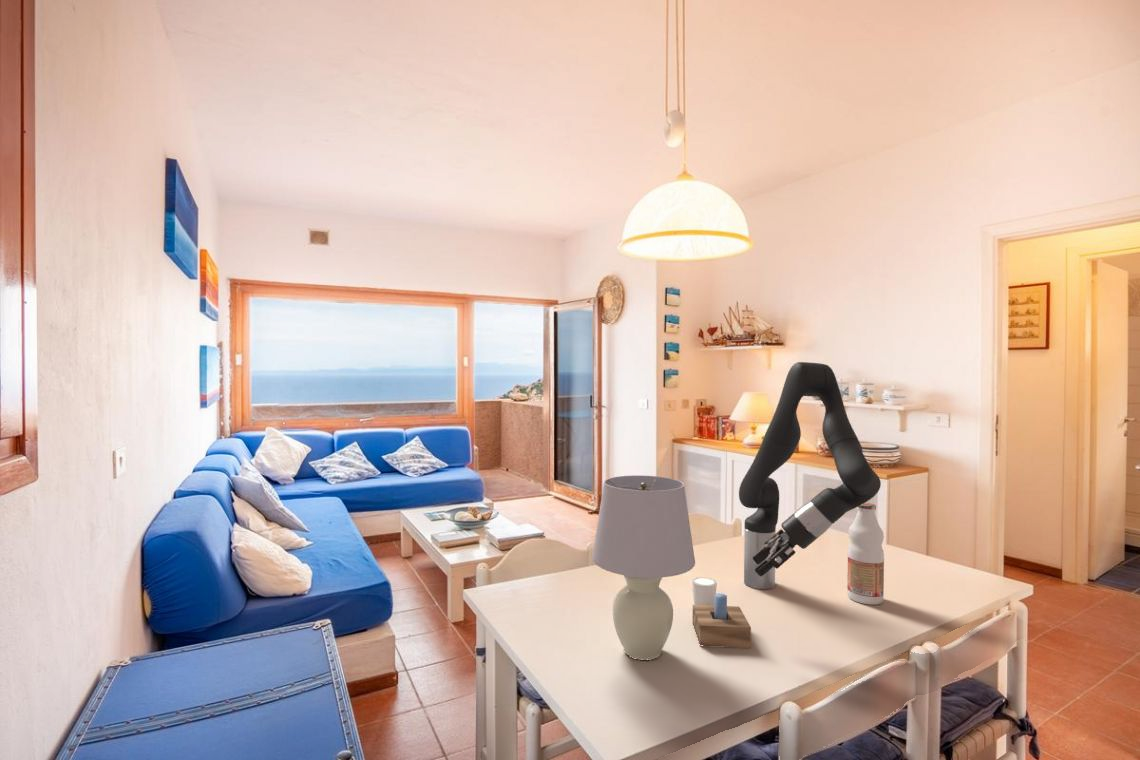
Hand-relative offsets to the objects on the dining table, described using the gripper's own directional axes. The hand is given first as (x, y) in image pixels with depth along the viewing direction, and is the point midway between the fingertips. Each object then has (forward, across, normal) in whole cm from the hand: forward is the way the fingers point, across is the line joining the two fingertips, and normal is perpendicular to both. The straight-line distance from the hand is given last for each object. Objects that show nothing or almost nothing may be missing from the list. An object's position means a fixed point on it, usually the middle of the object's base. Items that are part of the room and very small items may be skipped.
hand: (756, 567), depth 138 cm
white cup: (+22, -17, +4) cm, 28 cm away
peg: (+18, 0, +7) cm, 20 cm away
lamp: (+31, +14, -6) cm, 35 cm away
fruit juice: (-10, -35, +36) cm, 51 cm away
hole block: (+19, 0, +7) cm, 20 cm away
